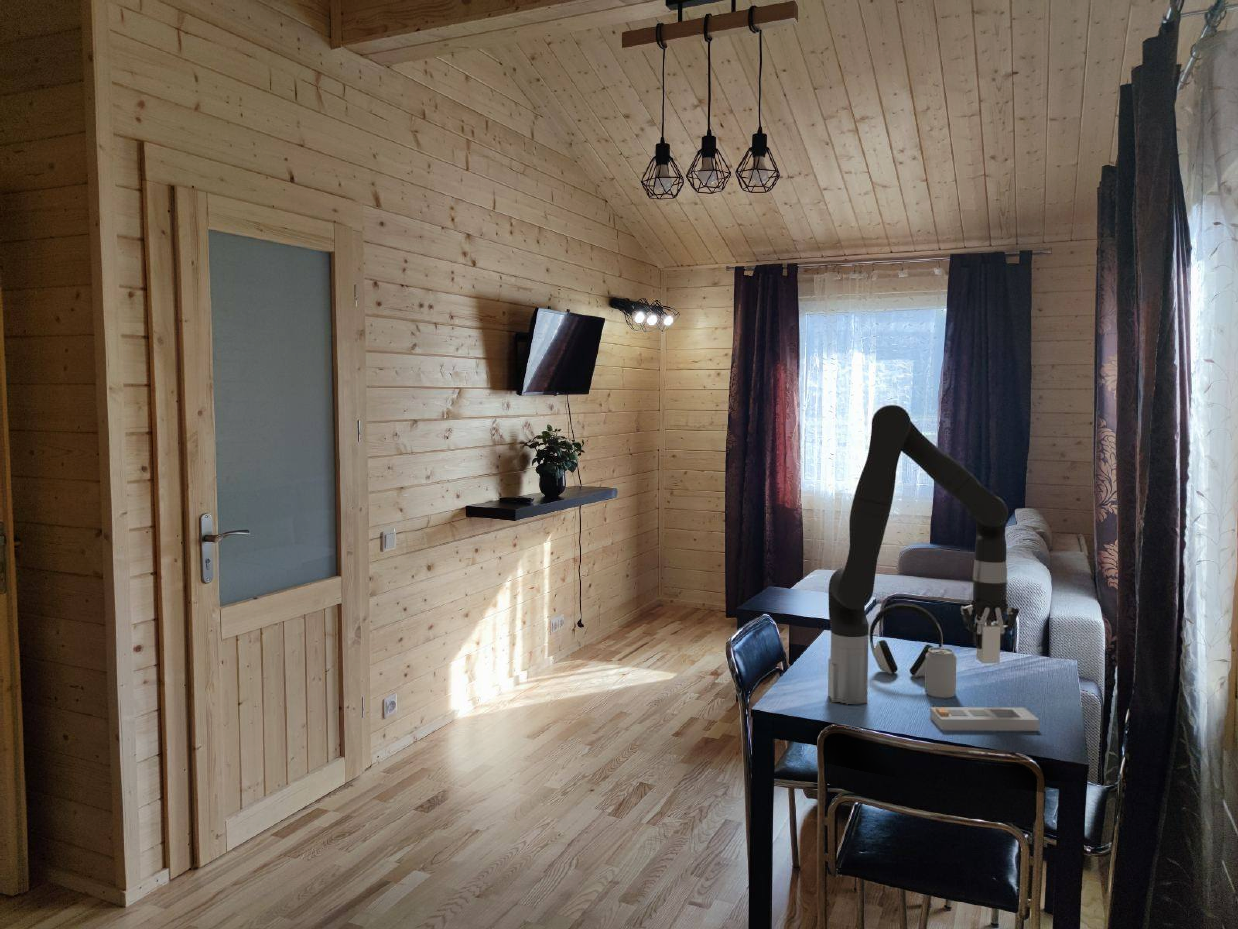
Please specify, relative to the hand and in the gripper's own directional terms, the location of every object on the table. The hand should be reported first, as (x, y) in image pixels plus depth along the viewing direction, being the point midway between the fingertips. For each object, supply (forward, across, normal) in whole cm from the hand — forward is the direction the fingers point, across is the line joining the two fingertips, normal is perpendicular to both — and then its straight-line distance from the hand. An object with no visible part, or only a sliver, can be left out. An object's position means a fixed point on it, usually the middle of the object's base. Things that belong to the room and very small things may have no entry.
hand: (988, 647), depth 219 cm
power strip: (+15, -5, -11) cm, 20 cm away
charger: (+3, 0, 0) cm, 3 cm away
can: (+16, -8, +10) cm, 20 cm away
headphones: (+16, -12, +27) cm, 33 cm away
